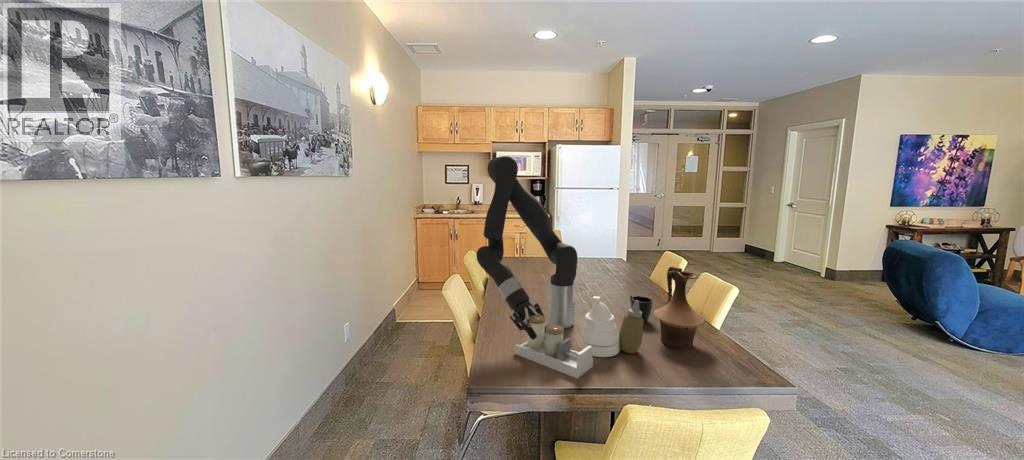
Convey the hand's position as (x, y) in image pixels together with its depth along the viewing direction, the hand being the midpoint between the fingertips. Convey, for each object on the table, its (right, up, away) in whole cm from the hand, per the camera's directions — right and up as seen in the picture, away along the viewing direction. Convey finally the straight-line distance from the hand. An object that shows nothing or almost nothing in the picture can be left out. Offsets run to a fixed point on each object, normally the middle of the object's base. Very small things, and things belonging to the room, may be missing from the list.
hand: (540, 335), depth 127 cm
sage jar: (+4, -6, -3) cm, 8 cm away
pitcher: (+51, -6, +13) cm, 53 cm away
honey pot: (+21, -6, +6) cm, 23 cm away
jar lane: (+4, -7, -2) cm, 9 cm away
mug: (+44, -3, +35) cm, 57 cm away
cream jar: (-2, -4, +2) cm, 5 cm away
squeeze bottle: (+31, -7, +5) cm, 32 cm away
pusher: (+9, -7, -6) cm, 12 cm away
